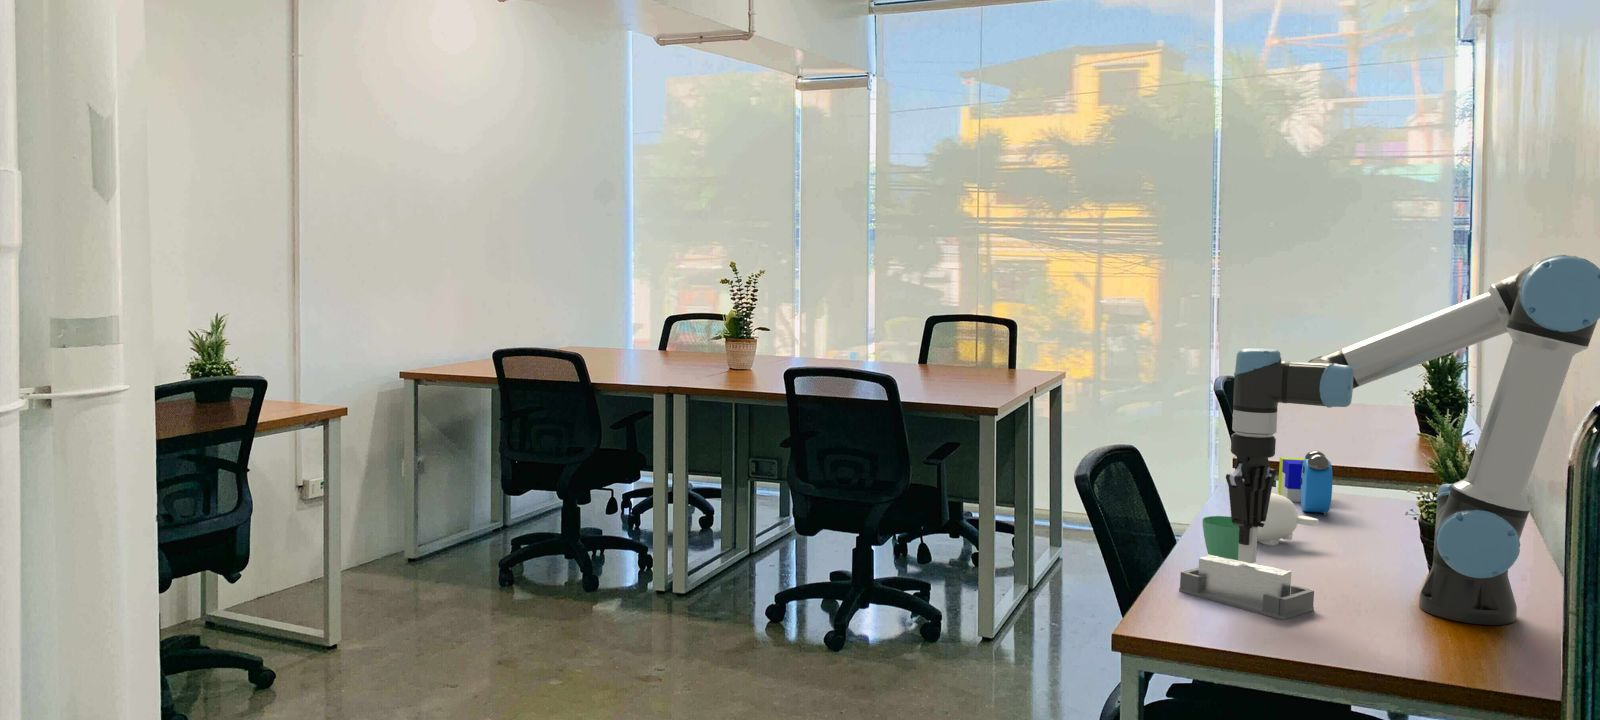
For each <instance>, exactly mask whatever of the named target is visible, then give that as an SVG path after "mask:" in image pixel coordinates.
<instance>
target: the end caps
mask: <svg viewBox="0 0 1600 720" xmlns="http://www.w3.org/2000/svg"><path fill="white" fill-rule="evenodd" d="M1198 571H1199V567H1195V568H1192V569H1187V570H1183V571H1180V575H1179V576H1180V578H1179V581H1180V582H1179V588H1178V591H1179V592H1181V593H1185V594H1188V595H1193V596H1195V597H1199V598H1202V599H1207V600H1211V601H1213V602H1217V603H1221V604H1224V605H1228V606H1232V607H1236V608H1239V609H1243V610H1246V611H1249V612H1252V613H1257V614H1261V615H1263V616H1264V615H1265V616H1267V617H1270V618H1275V619H1277V620H1278V619H1279V620H1282V621H1284V620H1288V619H1292V618H1295V617H1297V616H1300V615H1304V614H1306V613H1310V612H1312V611H1314V610H1315V607H1314V600H1315V590H1312V589H1309V588H1306V587H1302V586H1299V585H1294V584H1293V585H1291V588H1290V595H1289V596H1286V597H1279V596H1275V595H1271V594H1267V593H1266V594H1263V604H1259V603H1254V602H1250V601H1245V600H1241V599H1237V598H1232V597H1228V596H1223V595H1219V594H1214V593H1210V592H1205V591H1201V581H1202V576H1199V575H1198Z"/></svg>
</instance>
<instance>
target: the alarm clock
mask: <svg viewBox="0 0 1600 720" xmlns="http://www.w3.org/2000/svg"><path fill="white" fill-rule="evenodd" d="M1304 458H1305V460H1304V462H1303V466H1302V474H1301V502H1300V506H1301V510H1302V511H1303V512H1306V513H1318V514H1319V513H1320V514H1321V513H1322V514H1323V515H1326V514H1328V513H1329V512H1330V509H1331V505H1332V498H1333V497H1332V496H1333V467H1332V462H1331V461H1330V460H1329V459H1328V458H1327V457H1326V455H1325V454H1324V453H1323V452H1321V451H1319V450H1312V451H1309V452H1308V453H1306V454H1305V456H1304ZM1326 516H1327V515H1326Z"/></svg>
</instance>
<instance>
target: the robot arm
mask: <svg viewBox="0 0 1600 720" xmlns="http://www.w3.org/2000/svg"><path fill="white" fill-rule="evenodd" d="M1599 320H1600V268H1599V267H1598V266H1597V265H1596V264H1594V263H1593V262H1591V261H1590V260H1588V259H1586V258H1583V257H1578V256H1577V255H1566V254H1561V255H1554V256H1549V257H1546V258H1542V259H1540V260H1538V261H1535V262H1534V263H1532V264H1531V265H1529V266H1528V267H1526V268H1524V269H1523V270H1520V271H1519V272H1517V273H1515V274H1513V275H1511V276H1509V277H1507V278H1504V279H1502V280H1500V281H1498V282H1495V283H1492V284H1490V287H1489V289H1488V290H1487V292H1485V293H1483V294H1480V295H1478V296H1475V297H1472V298H1470V299H1467V300H1464V301H1462V302H1460V303H1457V304H1454V305H1451V306H1450V307H1446V308H1443V309H1442V310H1438V311H1436V312H1433V313H1430V314H1429V315H1426V316H1423V317H1420V318H1418V319H1415V320H1413V321H1411V322H1407V323H1405V324H1403V325H1400V326H1397V327H1394V328H1392V329H1390V330H1388V331H1384V332H1382V333H1380V334H1377V335H1374V336H1371V337H1369V338H1367V339H1364V340H1361V341H1358V342H1355V343H1354V344H1350V345H1349V346H1345V347H1343V348H1341V349H1338V350H1335V351H1333V352H1330V353H1328V354H1325V355H1323V356H1322V355H1320V356H1317V357H1314V358H1312V359H1310V360H1309V361H1307V362H1298V361H1286V360H1282V357H1281V352H1280V350H1278V349H1272V348H1263V347H1262V348H1259V347H1256V348H1255V347H1251V348H1250V347H1249V348H1248V347H1246V348H1245V347H1244V348H1242V349H1240V350H1239V351H1238V352H1237V353H1236V358H1235V367H1234V368H1235V370H1234V373H1233V377H1234V378H1233V404H1232V410H1233V411H1232V414H1231V415H1232V423H1231V424H1232V427H1231V429H1232V431H1233V432H1234V433H1232V434H1231V435H1230V436H1231V439H1230V452H1231V454H1232V455H1235V457H1236V460H1235V464H1234V471H1233V472H1232V473H1226V476H1225V481H1226V482H1227V486H1228V494H1229V495H1228V496H1229V497H1228V498H1229V505H1230V507H1229V508H1230V517H1231V519H1232V523H1233V524H1234V525H1238V526H1239V548H1238V561H1243V562H1247V563H1251V564H1252V563H1253V564H1256V563H1257V550H1258V549H1257V545H1258V541H1257V533H1258V526H1259V527H1263V526H1264V523H1261V522H1262V521H1263V522H1265V521H1266V517H1267V512H1268V506H1269V501H1270V495H1271V493H1272V490H1273V484H1274V480H1275V478H1276V475H1277V469H1275V468H1271V467H1270V461H1269V458H1273V457H1274V456H1276V443H1277V438H1276V437H1275V435H1274V434H1276V433H1277V430H1278V429H1277V428H1278V426H1277V425H1278V424H1277V423H1278V422H1277V421H1278V404H1279V403H1280V404H1294V405H1296V404H1297V405H1306V406H1318V407H1326V408H1330V409H1331V408H1347V407H1349V406H1350V405H1351V404H1352V400H1353V392H1354V389H1356V388H1358V387H1360V386H1363V385H1367V384H1368V383H1372V382H1374V381H1377V380H1380V379H1382V378H1385V377H1387V376H1388V377H1389V376H1392V375H1394V374H1397V373H1399V372H1402V371H1405V370H1408V369H1410V368H1413V367H1415V366H1418V365H1421V364H1424V363H1426V362H1429V361H1432V360H1435V359H1437V358H1438V359H1439V358H1441V357H1443V356H1446V355H1448V354H1451V353H1455V352H1457V351H1460V350H1462V349H1465V348H1468V347H1471V346H1473V345H1476V344H1479V343H1481V342H1485V341H1487V340H1490V339H1492V338H1495V337H1499V336H1500V335H1503V334H1505V333H1506V334H1507V333H1508V334H1509V336H1510V338H1511V340H1512V342H1511V345H1510V349H1509V352H1508V354H1507V358H1506V360H1505V363H1504V365H1503V368H1502V369H1503V370H1502V371H1501V375H1500V377H1499V381H1498V384H1497V386H1496V389H1495V392H1494V394H1493V398H1492V401H1491V403H1490V407H1489V410H1488V412H1487V415H1486V418H1485V422H1484V423H1483V428H1482V429H1481V433H1480V436H1479V439H1478V441H1477V445H1476V447H1475V450H1474V453H1473V457H1472V458H1471V462H1470V465H1469V468H1468V471H1467V474H1466V476H1465V477H1464V478H1463V479H1461V480H1459V481H1456V482H1454V483H1442V484H1441V485H1440V486H1439V487H1438V491H1437V496H1436V497H1435V501H1436V514H1435V527H1434V529H1435V530H1434V544H1433V545H1434V546H1433V560H1432V566H1431V569H1430V571H1429V573H1428V575H1427V578H1426V580H1425V582H1424V584H1423V586H1422V588H1421V590H1420V593H1419V602H1418V606H1419V608H1420V609H1421V610H1422V611H1424V612H1426V613H1427V614H1430V615H1433V616H1436V617H1439V618H1443V619H1447V620H1450V621H1454V622H1455V621H1456V622H1459V623H1460V622H1461V623H1465V624H1466V623H1467V624H1472V625H1473V624H1474V625H1486V626H1500V625H1502V626H1503V625H1508V624H1509V625H1510V624H1513V623H1515V622H1516V621H1517V612H1518V607H1517V603H1516V599H1515V596H1514V593H1513V588H1512V586H1511V583H1510V579H1509V578H1510V577H1509V569H1510V568H1511V567H1512V566H1513V565H1514V564H1515V562H1516V561H1517V559H1518V558H1519V555H1520V551H1521V548H1520V547H1521V542H1520V539H1521V537H1522V534H1523V531H1524V528H1525V526H1526V522H1527V519H1528V517H1529V513H1530V512H1531V511H1530V510H1531V506H1530V505H1529V502H1528V501H1527V500H1526V498H1525V492H1526V489H1527V487H1528V483H1529V481H1530V478H1531V476H1532V472H1533V470H1534V467H1535V464H1536V462H1537V458H1538V456H1539V452H1540V450H1541V448H1542V444H1543V442H1544V440H1545V439H1544V438H1545V436H1546V433H1547V431H1548V428H1549V425H1550V421H1551V419H1552V416H1553V413H1554V411H1555V408H1556V405H1557V402H1558V399H1559V396H1560V393H1561V390H1562V388H1563V386H1564V383H1565V381H1566V376H1567V373H1568V371H1569V368H1570V365H1571V362H1572V360H1573V357H1574V356H1575V355H1576V354H1579V353H1581V352H1583V351H1585V350H1587V349H1588V348H1589V345H1590V342H1591V339H1592V338H1593V334H1594V331H1595V329H1596V326H1597V324H1598V321H1599Z"/></svg>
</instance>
